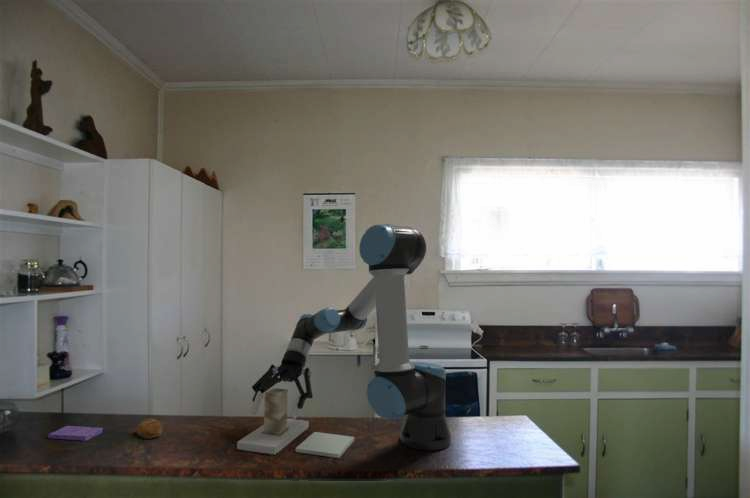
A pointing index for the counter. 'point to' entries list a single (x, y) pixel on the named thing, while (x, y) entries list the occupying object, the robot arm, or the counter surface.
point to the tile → (325, 444)
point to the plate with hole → (272, 438)
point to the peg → (275, 412)
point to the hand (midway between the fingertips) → (272, 415)
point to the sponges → (75, 433)
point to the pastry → (149, 428)
